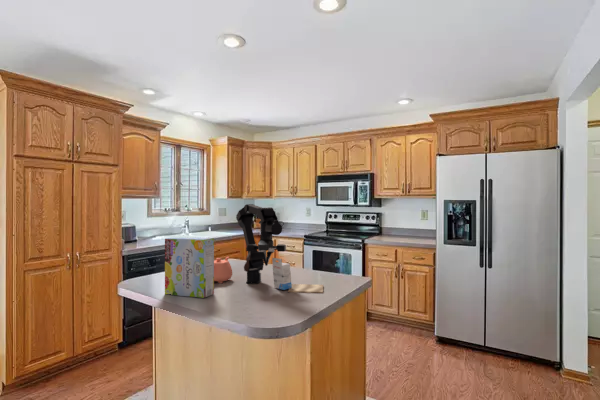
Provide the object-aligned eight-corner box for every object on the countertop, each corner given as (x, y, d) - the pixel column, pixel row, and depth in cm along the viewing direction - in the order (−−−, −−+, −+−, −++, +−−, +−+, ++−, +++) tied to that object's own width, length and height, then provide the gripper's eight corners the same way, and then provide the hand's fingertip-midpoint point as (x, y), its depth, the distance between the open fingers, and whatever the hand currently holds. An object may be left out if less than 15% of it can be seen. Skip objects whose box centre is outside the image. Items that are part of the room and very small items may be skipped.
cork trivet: (288, 292, 155) (288, 291, 155) (291, 285, 168) (291, 284, 168) (322, 293, 154) (322, 291, 154) (323, 285, 166) (323, 284, 166)
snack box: (215, 293, 153) (215, 237, 153) (204, 299, 145) (203, 239, 145) (176, 289, 160) (176, 236, 160) (163, 294, 152) (163, 238, 152)
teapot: (239, 277, 186) (239, 255, 186) (221, 286, 167) (221, 261, 167) (217, 276, 190) (217, 254, 190) (197, 284, 170) (197, 260, 170)
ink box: (292, 288, 160) (290, 257, 160) (284, 290, 157) (281, 259, 157) (281, 285, 167) (279, 256, 167) (273, 287, 163) (271, 257, 164)
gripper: (243, 234, 156) (243, 268, 155) (283, 235, 154) (283, 269, 154) (249, 232, 167) (249, 264, 167) (286, 232, 165) (286, 264, 165)
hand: (266, 265), depth 163 cm, fingers closed
